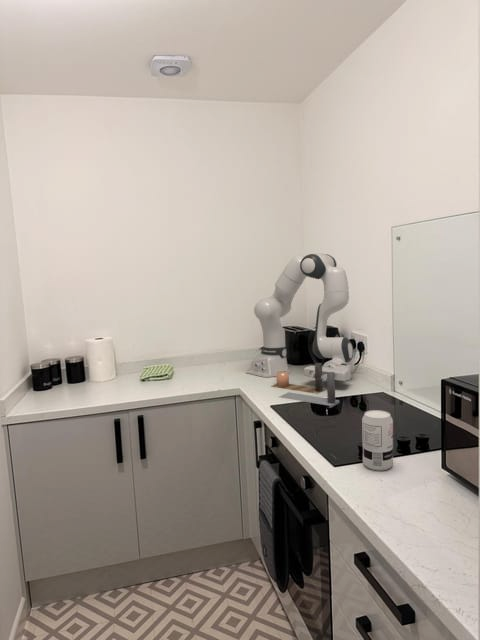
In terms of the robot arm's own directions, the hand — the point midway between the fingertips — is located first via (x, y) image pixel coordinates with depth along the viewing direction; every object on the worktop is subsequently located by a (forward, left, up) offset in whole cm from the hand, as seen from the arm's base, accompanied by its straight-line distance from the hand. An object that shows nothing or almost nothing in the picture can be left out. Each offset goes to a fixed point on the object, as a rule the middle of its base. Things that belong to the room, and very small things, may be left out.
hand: (317, 377), depth 209 cm
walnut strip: (-10, +1, -7) cm, 13 cm away
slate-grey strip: (+2, -11, -7) cm, 13 cm away
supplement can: (+49, -54, -8) cm, 73 cm away
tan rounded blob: (-18, +1, -6) cm, 20 cm away
